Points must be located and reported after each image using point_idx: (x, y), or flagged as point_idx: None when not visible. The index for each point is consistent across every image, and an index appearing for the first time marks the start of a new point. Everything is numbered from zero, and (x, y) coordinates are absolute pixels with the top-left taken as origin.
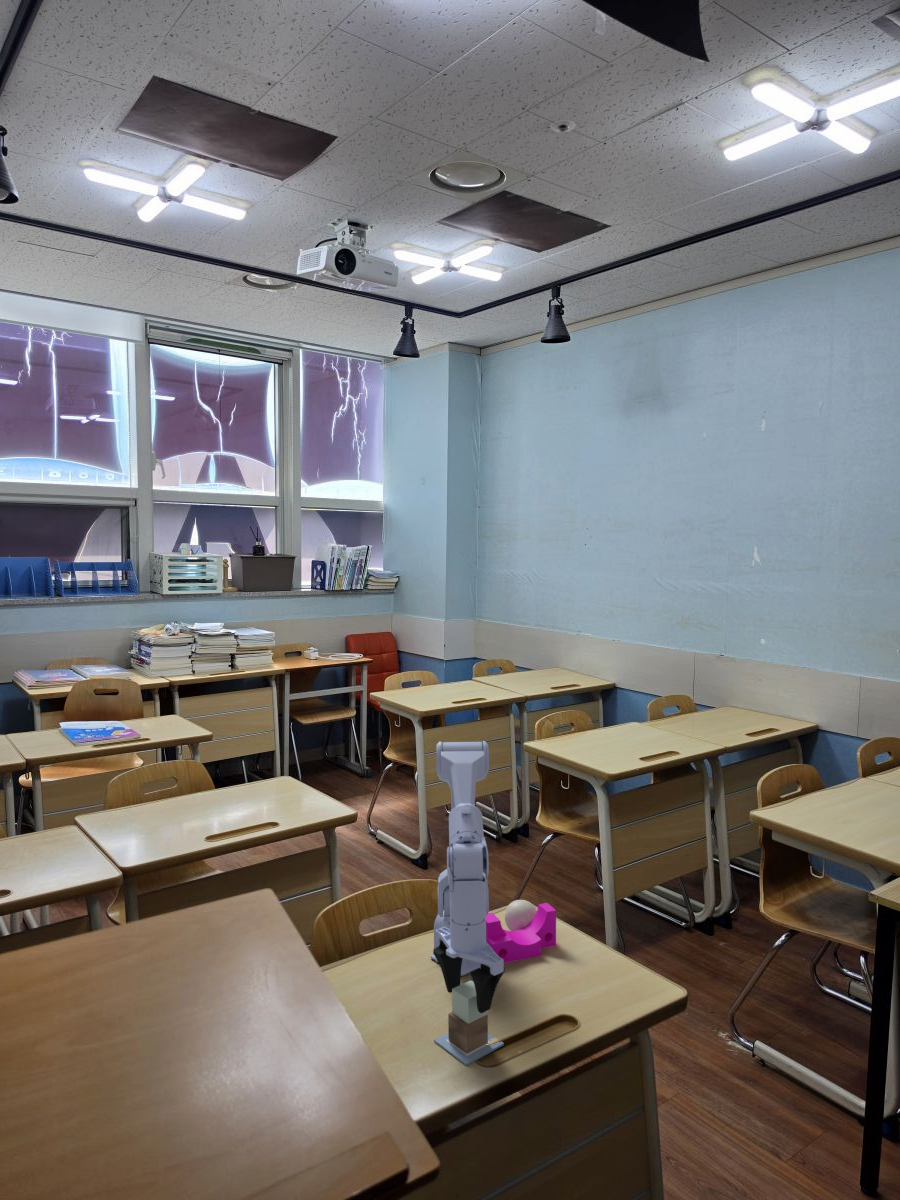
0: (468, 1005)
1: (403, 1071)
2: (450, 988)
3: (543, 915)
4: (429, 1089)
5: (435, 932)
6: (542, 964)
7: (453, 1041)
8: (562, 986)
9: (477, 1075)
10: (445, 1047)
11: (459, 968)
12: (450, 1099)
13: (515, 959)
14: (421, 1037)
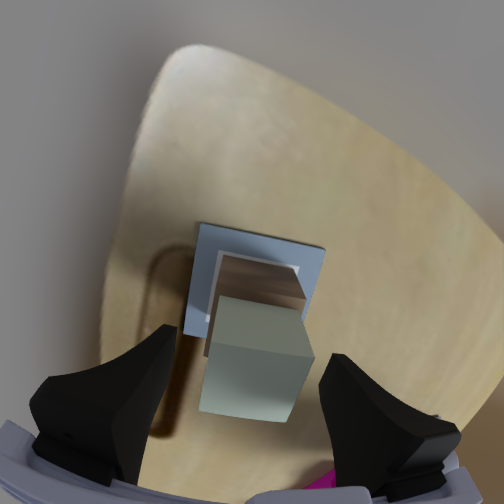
0: (214, 328)
1: (313, 113)
2: (335, 364)
3: None
4: (218, 99)
5: (479, 493)
6: (278, 489)
7: (275, 267)
8: (220, 475)
9: (159, 211)
10: (284, 243)
11: (334, 437)
12: (157, 107)
13: (319, 481)
14: (358, 243)
